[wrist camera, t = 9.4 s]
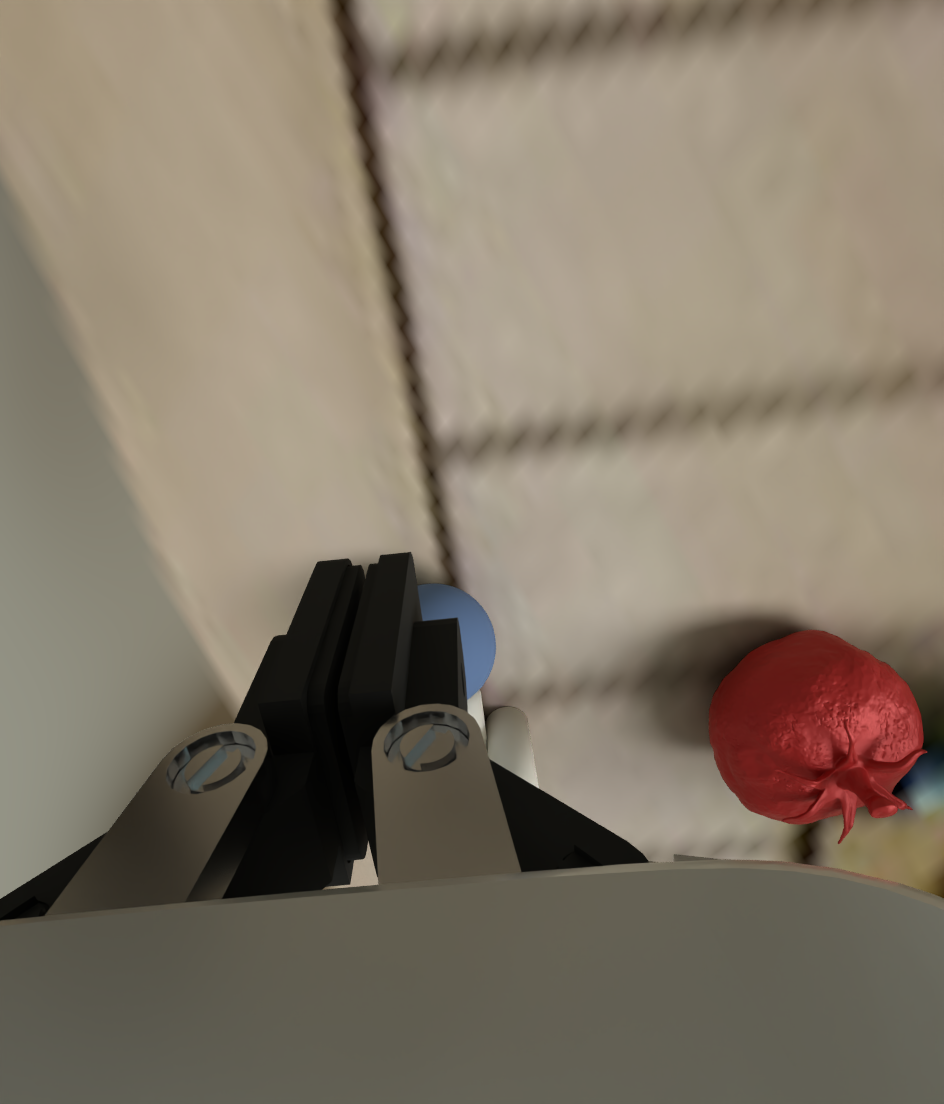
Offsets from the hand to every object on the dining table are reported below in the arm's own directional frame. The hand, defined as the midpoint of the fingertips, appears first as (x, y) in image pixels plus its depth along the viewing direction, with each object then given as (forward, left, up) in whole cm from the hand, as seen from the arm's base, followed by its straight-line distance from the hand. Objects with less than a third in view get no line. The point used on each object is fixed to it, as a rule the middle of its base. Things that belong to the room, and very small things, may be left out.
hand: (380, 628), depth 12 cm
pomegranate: (+18, +18, -19) cm, 32 cm away
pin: (+19, +2, -19) cm, 27 cm away
